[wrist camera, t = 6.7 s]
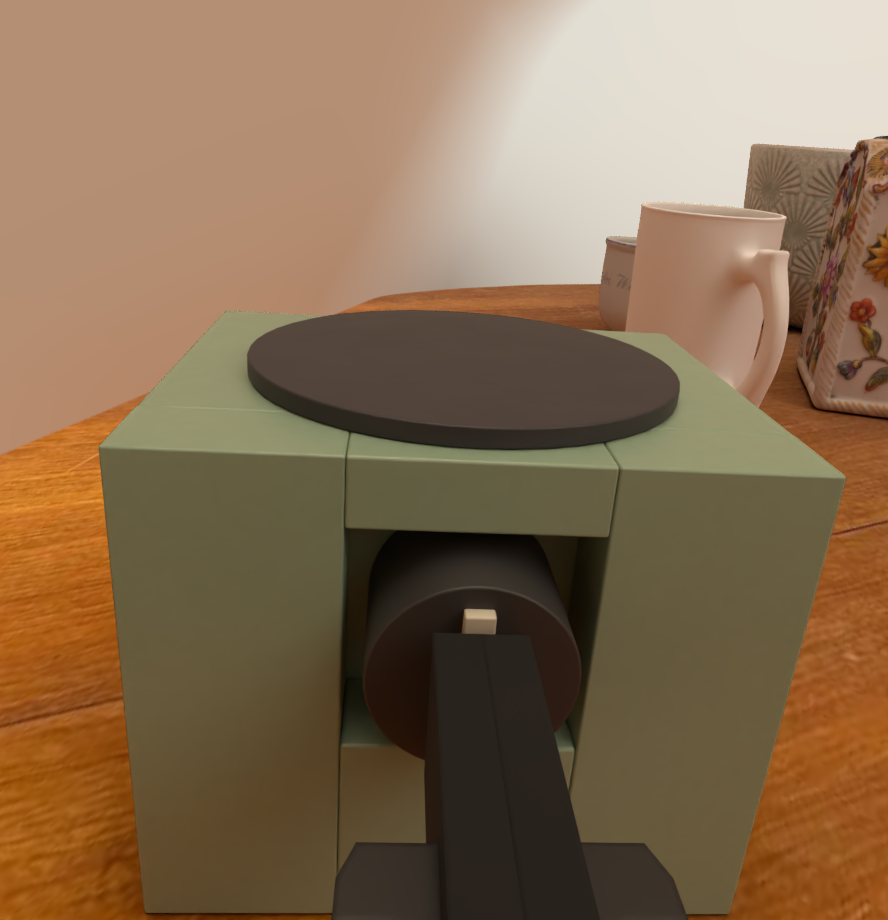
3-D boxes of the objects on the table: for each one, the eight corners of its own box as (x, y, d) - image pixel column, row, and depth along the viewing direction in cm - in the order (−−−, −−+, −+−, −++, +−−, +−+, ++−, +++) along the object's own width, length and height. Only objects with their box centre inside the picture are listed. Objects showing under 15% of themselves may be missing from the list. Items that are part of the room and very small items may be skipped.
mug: (586, 423, 46) (616, 199, 42) (690, 418, 48) (730, 205, 44) (683, 498, 37) (736, 224, 33) (806, 489, 39) (871, 230, 35)
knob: (359, 778, 14) (365, 592, 12) (365, 661, 17) (371, 501, 15) (570, 781, 14) (599, 598, 13) (541, 665, 17) (561, 508, 16)
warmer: (143, 914, 16) (94, 421, 13) (235, 629, 26) (224, 294, 22) (730, 915, 17) (855, 453, 13) (615, 639, 27) (668, 319, 23)
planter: (853, 353, 67) (904, 153, 61) (683, 311, 79) (713, 140, 73) (946, 335, 77) (998, 160, 71) (782, 299, 89) (815, 148, 83)
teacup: (572, 329, 69) (585, 229, 66) (690, 330, 71) (708, 235, 68) (646, 377, 56) (665, 257, 53) (786, 377, 59) (812, 263, 56)
